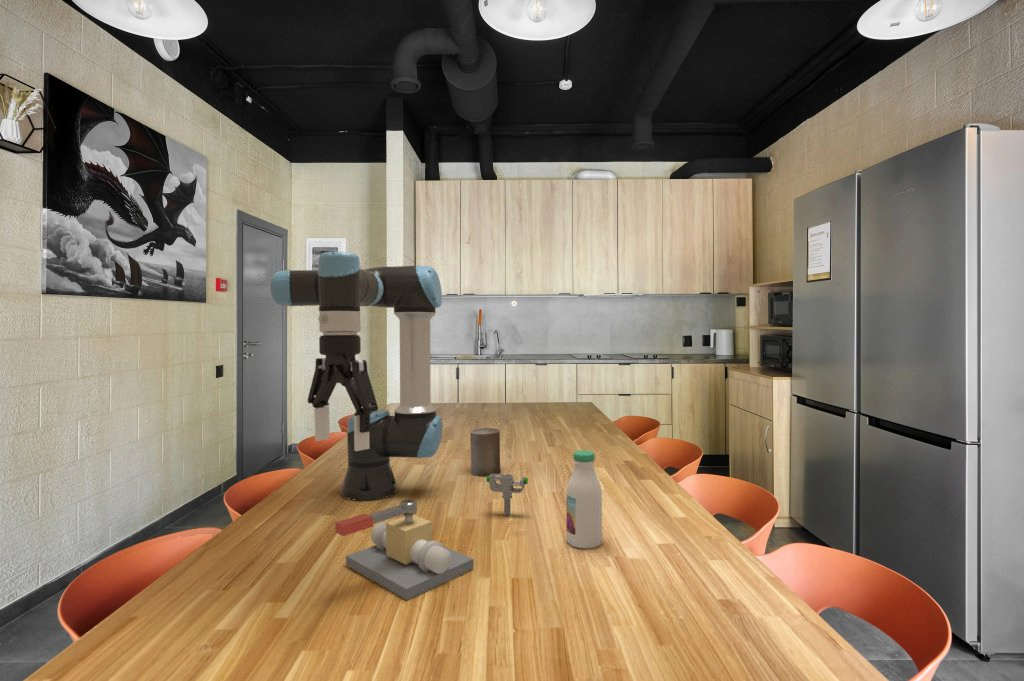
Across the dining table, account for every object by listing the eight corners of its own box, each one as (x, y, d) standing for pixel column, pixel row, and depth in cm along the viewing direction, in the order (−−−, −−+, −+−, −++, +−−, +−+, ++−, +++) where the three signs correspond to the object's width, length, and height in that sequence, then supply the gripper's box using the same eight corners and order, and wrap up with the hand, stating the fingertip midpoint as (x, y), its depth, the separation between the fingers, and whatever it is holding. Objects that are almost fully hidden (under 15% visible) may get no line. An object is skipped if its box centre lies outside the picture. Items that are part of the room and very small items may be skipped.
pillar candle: (506, 470, 174) (505, 425, 174) (489, 478, 166) (488, 430, 165) (482, 467, 179) (481, 423, 179) (464, 473, 171) (463, 427, 171)
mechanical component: (526, 518, 131) (526, 478, 130) (486, 515, 133) (485, 476, 132) (528, 514, 134) (528, 475, 133) (489, 511, 136) (488, 473, 135)
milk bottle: (604, 537, 119) (604, 449, 118) (598, 551, 111) (598, 457, 111) (570, 533, 121) (570, 447, 121) (562, 547, 114) (562, 454, 113)
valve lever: (410, 508, 107) (410, 498, 107) (420, 512, 104) (420, 502, 104) (334, 532, 94) (334, 521, 94) (344, 537, 92) (343, 525, 92)
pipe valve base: (346, 565, 105) (345, 512, 105) (411, 541, 117) (410, 493, 117) (406, 600, 92) (406, 539, 92) (473, 568, 104) (473, 514, 104)
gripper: (288, 334, 106) (290, 439, 107) (361, 334, 90) (362, 458, 91) (323, 333, 112) (324, 433, 112) (396, 334, 96) (397, 450, 96)
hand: (341, 444), depth 101 cm, fingers open, 13 cm apart
